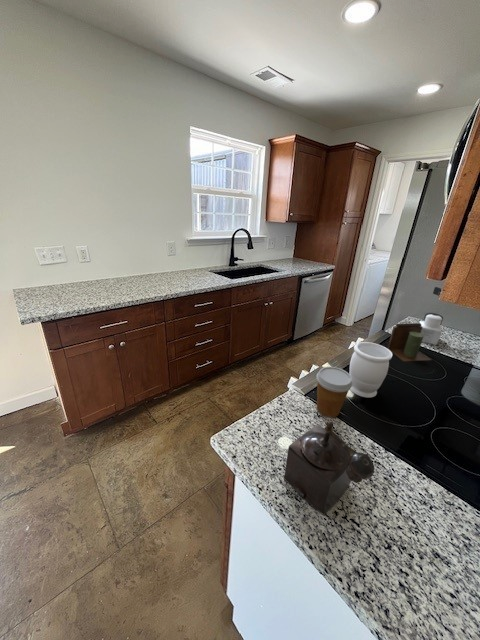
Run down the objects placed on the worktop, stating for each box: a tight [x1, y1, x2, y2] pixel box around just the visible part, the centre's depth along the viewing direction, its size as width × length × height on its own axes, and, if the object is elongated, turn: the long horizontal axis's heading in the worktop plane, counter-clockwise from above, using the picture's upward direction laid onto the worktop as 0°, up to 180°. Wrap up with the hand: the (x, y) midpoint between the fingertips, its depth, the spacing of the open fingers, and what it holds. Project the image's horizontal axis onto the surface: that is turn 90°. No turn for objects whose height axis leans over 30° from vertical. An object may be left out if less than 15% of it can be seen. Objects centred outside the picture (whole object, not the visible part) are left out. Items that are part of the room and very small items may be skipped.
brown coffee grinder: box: [283, 420, 375, 515], centre depth 51 cm, size 16×11×18 cm
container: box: [419, 312, 444, 346], centre depth 116 cm, size 8×8×13 cm
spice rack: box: [386, 322, 432, 362], centre depth 104 cm, size 12×10×12 cm
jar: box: [349, 341, 393, 399], centre depth 83 cm, size 11×10×15 cm
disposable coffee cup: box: [316, 366, 353, 418], centre depth 75 cm, size 10×10×12 cm
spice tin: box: [403, 332, 424, 358], centre depth 103 cm, size 5×5×9 cm
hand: (449, 289), depth 106 cm, fingers open, 13 cm apart
